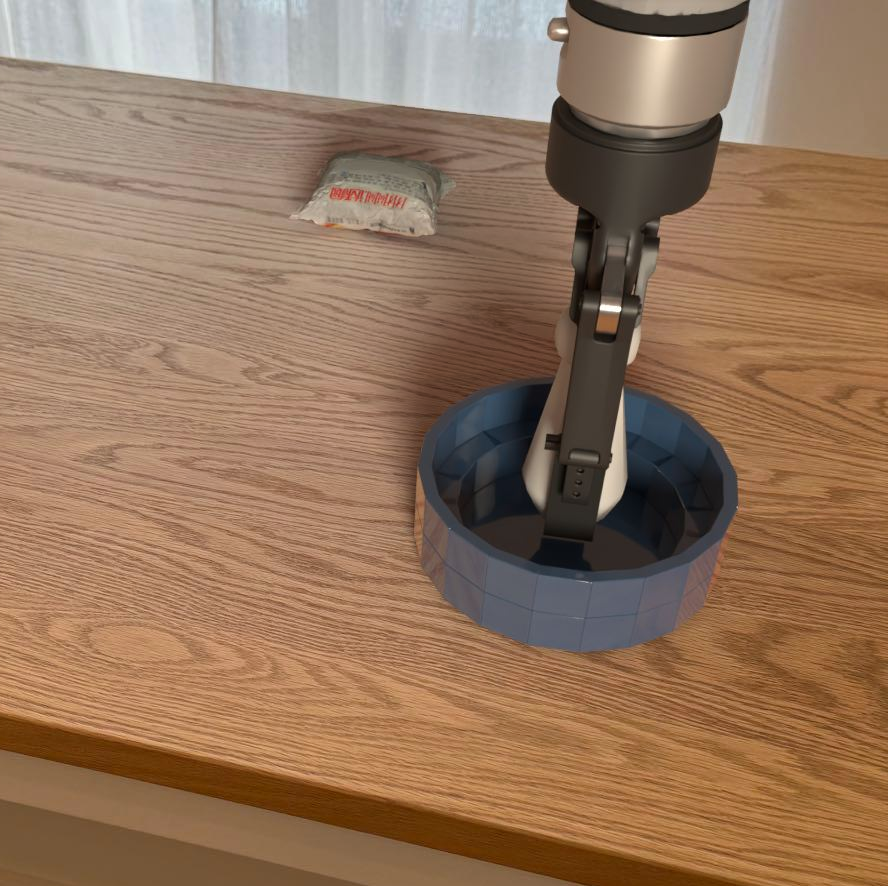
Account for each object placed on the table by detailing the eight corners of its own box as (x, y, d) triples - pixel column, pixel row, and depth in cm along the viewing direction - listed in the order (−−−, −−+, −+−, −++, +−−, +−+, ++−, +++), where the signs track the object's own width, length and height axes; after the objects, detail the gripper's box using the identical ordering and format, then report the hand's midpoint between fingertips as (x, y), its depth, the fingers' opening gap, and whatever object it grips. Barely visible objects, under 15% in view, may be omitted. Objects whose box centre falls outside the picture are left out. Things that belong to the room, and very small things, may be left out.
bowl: (714, 471, 78) (734, 395, 74) (717, 682, 66) (742, 604, 62) (438, 436, 81) (443, 360, 77) (391, 632, 68) (394, 554, 64)
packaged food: (434, 259, 97) (437, 201, 94) (288, 239, 99) (287, 181, 96) (455, 207, 103) (459, 151, 100) (318, 189, 105) (318, 134, 102)
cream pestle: (608, 551, 69) (648, 356, 60) (507, 526, 70) (531, 333, 61) (628, 486, 73) (668, 294, 64) (533, 464, 74) (559, 273, 65)
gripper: (569, 16, 62) (523, 390, 78) (533, 194, 49) (486, 602, 65) (722, 28, 61) (644, 405, 77) (729, 214, 48) (632, 624, 64)
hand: (572, 495), depth 71 cm, fingers closed on cream pestle, 6 cm apart
